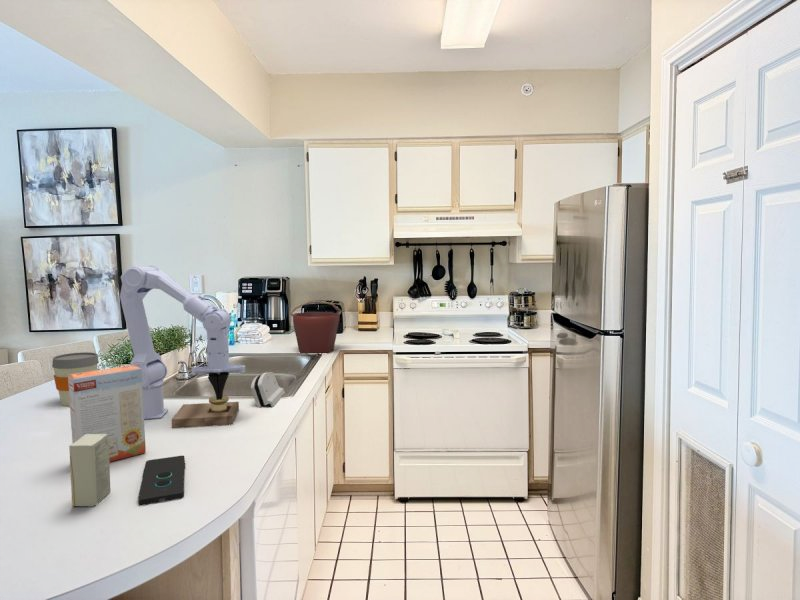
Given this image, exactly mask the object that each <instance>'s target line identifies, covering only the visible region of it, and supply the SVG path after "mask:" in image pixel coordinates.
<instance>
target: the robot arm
mask: <svg viewBox="0 0 800 600" xmlns="http://www.w3.org/2000/svg"><path fill="white" fill-rule="evenodd" d="M120 280H121V289H120V294H119V299H120V303H121V307H122V311H123V315H124V320H125V323H126V328H127V331H128V337H129V339H130V344H131V347H132V349H131V350H132V352H133V358H132V359H131V361H130V363H129V366H131V365H134V366H137V367H139V368H141V371H142V390H143V408H144V420H149V419H150V420H151V419H152V420H153V419H161V418H163V416H164V415H165V414H166V413H167V412H168V411H169V408H165V407H164V385H163V384H164V379H165V378H166V377H167V375H168V368H167V365H166V364H165V363H164V361H163V359H162V356H161V355H160V354H159V353H158V352H156V351H155V346H154V343H153V339H152V335H151V330H150V326H149V323H148V318H147V314H146V310H145V305H144V302H143V299H144V298H145V297H146V295H147V294H149V292H150V291H151V290H153V289H154V290H155V289H156V290H160V291H162V292H163V293H165V294H167V295H168V296H170V297H171V298H173V299H175V300H176V301H178V302H179V303H181V304H182V307H183V310H184V312H186V313H188V314H189V315H191V316H192V317H194V318H195V319H196V320H197V321H199V322H200V323H201V324H202V326H203V328H204V329H205V331H206V343H207V344H206V345H207V366H206V365H205V366H193V367H192V368H191V369H190V370H191V376H197V375H208V377H207V378H208V381H209V383H210V384H211V386H212V388H213V390H214V392H215V393H214V394H215V396H216V399H222V397H223V396H224V390H225V386H226V383H227V380H228V378H229V375H230V374H238V373H239V374H245V373H246V365H245V364H244V365H243V364H242V365H237V364H230V360H229V359H230V356H229V354H230V353H229V328H228V327H229V326H230V325H231V323H232V318H231V315H230V314H229V312H228V311H227V310H226V309H223V308H221V309H218V308H219V307H218V306H217V305H213V304H212V303H210V302H209V301H208V300H206V299H205V295H202V294H200V295H199V294H197V293H195V294H191V293H190V292H188V291H187V290H185V289H184V288H183V287H182V286H181V285H180V284H178V283H177V282H176V281H175V280H173V279H172V278H171V277H169V276H168V275H167V273H166V272H165V271H163V270H160V269H159V268H158V267H156V266H153V265H147V266H135V265H134V266H129V267H128V268H126V270H124V272H123V273H122V274H121V276H120Z"/></svg>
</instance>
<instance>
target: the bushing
mask: <svg viewBox="0 0 800 600" xmlns="http://www.w3.org/2000/svg"><path fill="white" fill-rule="evenodd" d="M229 398H230V397H229V396H228V395H223V397H222V399H216V395H214V396H210V397H209V398H208V403H211V413H215V412H227V402H229Z"/></svg>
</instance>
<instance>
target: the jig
mask: <svg viewBox="0 0 800 600" xmlns="http://www.w3.org/2000/svg"><path fill="white" fill-rule="evenodd" d="M239 402H240V401H227V412H215V413H211V403H210V402H208V403H207V402H205V403H204V402H203V403H202V402H201V403H187V404H186V403H183V404H182V405H181V407H180V408H179V410H178V411H177V412H175V414H174V415H173V417H172V418H171V429H182V428H181V427H184V428H194V427H195V428H197V427H198V426H201V427H211V426H212V427H214V426H213V425H218V426H232V425H231V424H233V425H234V423H233V422H235V420H236V418H235V417H237V415H238V412H239V410H240V408H239V407H240V405H239V404H240V403H239ZM229 424H230V425H229Z"/></svg>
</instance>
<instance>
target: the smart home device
mask: <svg viewBox="0 0 800 600" xmlns="http://www.w3.org/2000/svg"><path fill="white" fill-rule="evenodd" d="M185 459H186V458H185V455H176V456H170V457H169V456H168V457H161V458H154V459H148V460H146V461H145V465H144V468H143V473H142V477H141V482H140V488H139V491H138V496H137V502H138V503H137V504H138V505H139V506H146V505H150V504H157V503H162V502H163V503H164V502H168V501H169V502H170V501H174V500H181V499H183V498H184V497H185V469H186V463H185V462H186V461H185Z"/></svg>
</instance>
